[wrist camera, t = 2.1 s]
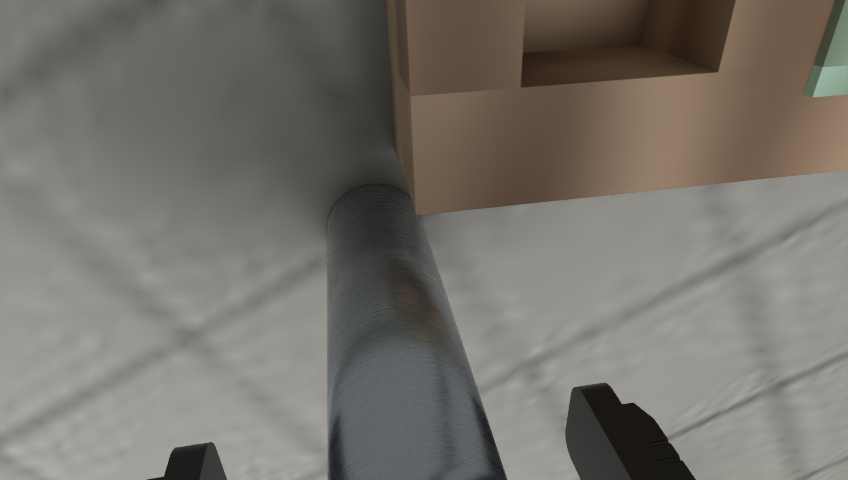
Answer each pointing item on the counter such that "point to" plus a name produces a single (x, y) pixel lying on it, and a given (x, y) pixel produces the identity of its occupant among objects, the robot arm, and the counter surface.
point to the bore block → (612, 96)
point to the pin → (396, 353)
